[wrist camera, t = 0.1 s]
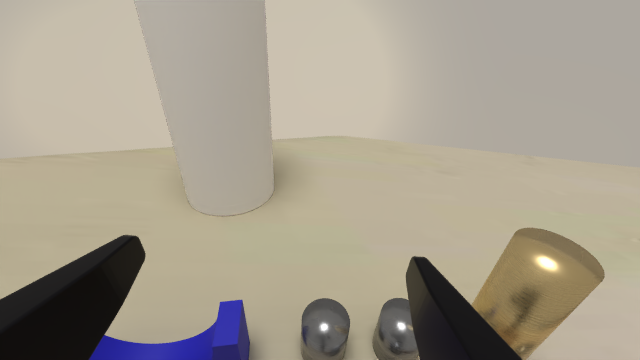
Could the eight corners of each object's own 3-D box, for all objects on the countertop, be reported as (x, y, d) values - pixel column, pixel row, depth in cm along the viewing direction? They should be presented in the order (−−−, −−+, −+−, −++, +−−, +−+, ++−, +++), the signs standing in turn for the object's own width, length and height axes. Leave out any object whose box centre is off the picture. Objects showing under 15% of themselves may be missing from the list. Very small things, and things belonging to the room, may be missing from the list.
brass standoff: (509, 397, 20) (627, 288, 13) (455, 393, 20) (543, 282, 13) (483, 340, 23) (565, 230, 16) (437, 337, 23) (499, 225, 16)
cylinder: (243, 226, 34) (210, -20, 20) (167, 201, 37) (94, -23, 24) (288, 178, 44) (284, -8, 30) (224, 162, 47) (196, -11, 34)
